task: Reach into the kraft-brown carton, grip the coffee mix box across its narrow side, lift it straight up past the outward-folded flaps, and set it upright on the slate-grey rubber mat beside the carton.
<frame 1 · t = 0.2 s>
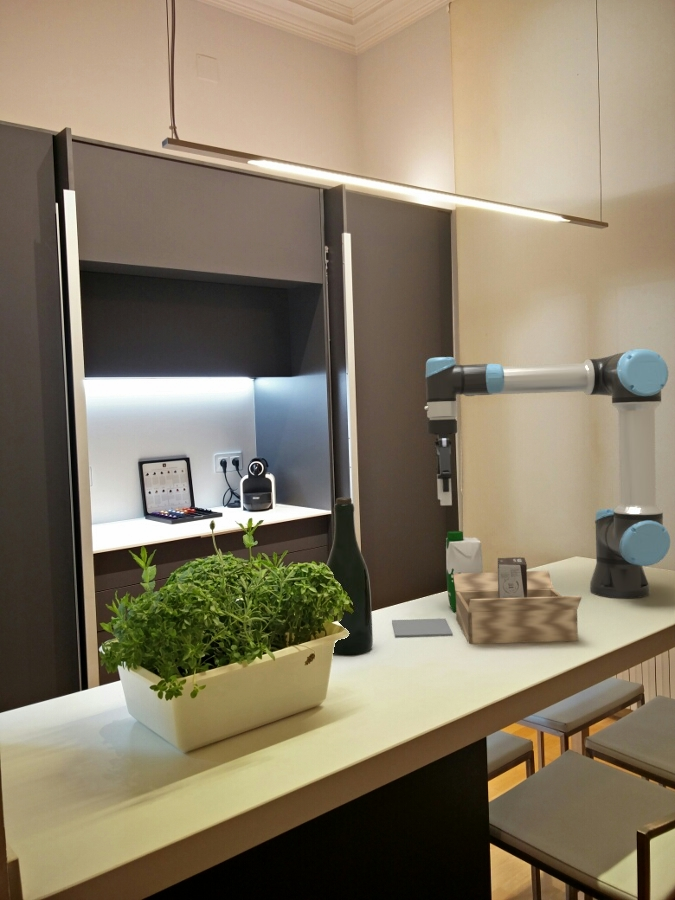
hand: (444, 502, 192), 28 cm above the counter, fingers open, 13 cm apart
carton: (513, 629, 174), on the counter
dark green wine bottle: (349, 649, 164), on the counter
milk carton: (465, 609, 194), on the counter
mat: (421, 628, 177), on the counter
coffee box: (513, 630, 174), resting in carton
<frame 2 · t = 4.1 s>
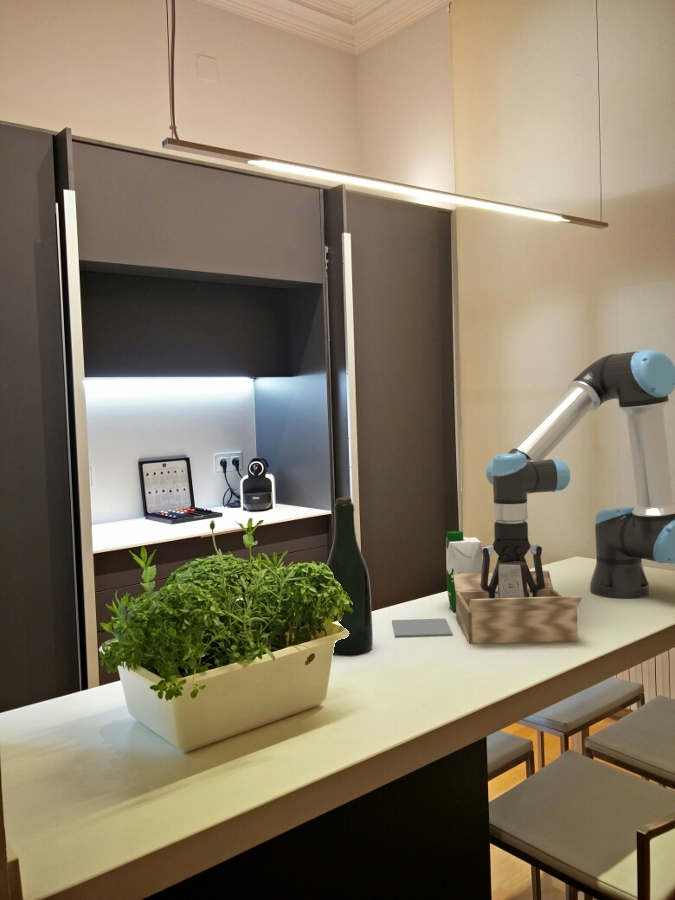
hand: (513, 619, 174), 2 cm above the counter, fingers closed on coffee box, 7 cm apart
coffee box: (513, 630, 174), resting in carton, touching gripper
everything else where it was.
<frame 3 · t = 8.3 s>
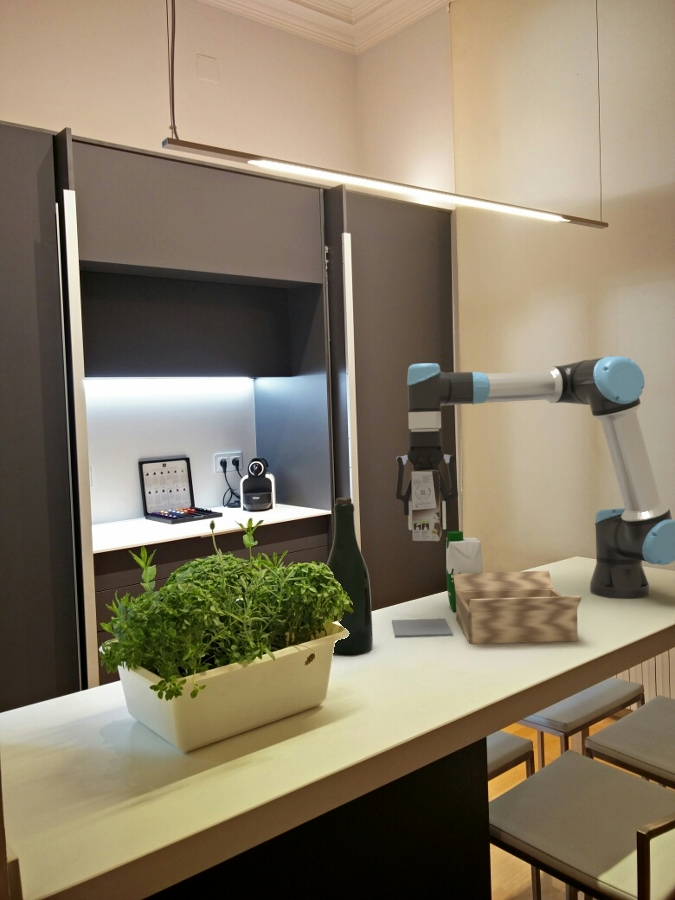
hand: (427, 528, 176), 24 cm above the counter, fingers closed on coffee box, 7 cm apart
coffee box: (427, 539, 176), point 21 cm above the counter, touching gripper
everything else where it was.
when the fingers open (4 cm above the counter, at t = 12.5 s): coffee box drops 2 cm, resting on mat.
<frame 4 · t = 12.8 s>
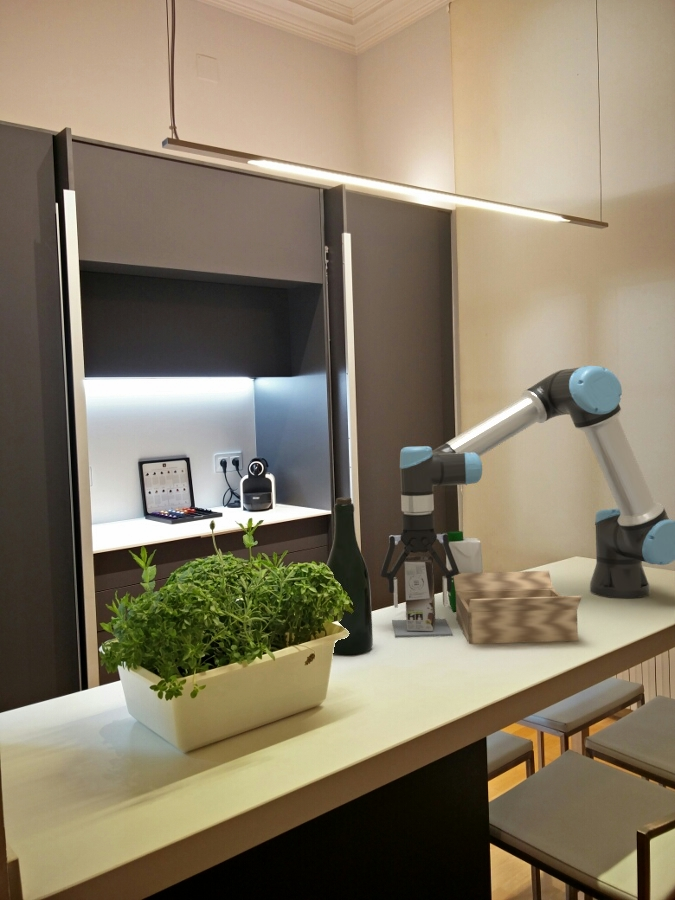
hand: (420, 605, 177), 5 cm above the counter, fingers open, 11 cm apart
coffee box: (421, 627, 177), resting on mat
everything else where it was.
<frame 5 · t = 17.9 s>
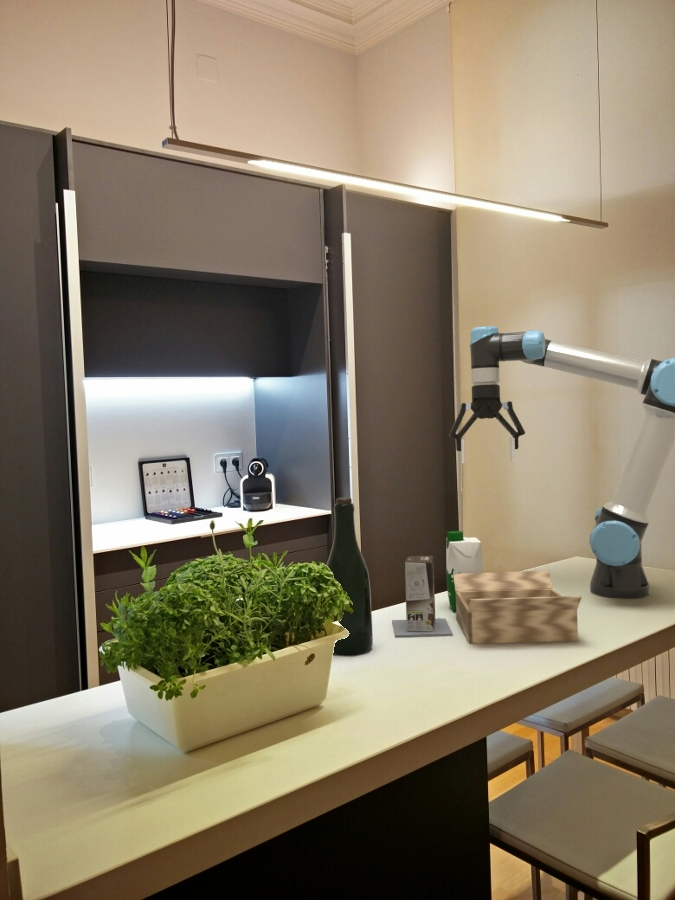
hand: (487, 462, 205), 37 cm above the counter, fingers open, 13 cm apart
nothing on the counter moved.
at the end: coffee box inside the target area on the mat (0.1 cm from its centre), point 0.3 cm above the mat's base; coffee box tilted 0°; the gripper is holding nothing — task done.
